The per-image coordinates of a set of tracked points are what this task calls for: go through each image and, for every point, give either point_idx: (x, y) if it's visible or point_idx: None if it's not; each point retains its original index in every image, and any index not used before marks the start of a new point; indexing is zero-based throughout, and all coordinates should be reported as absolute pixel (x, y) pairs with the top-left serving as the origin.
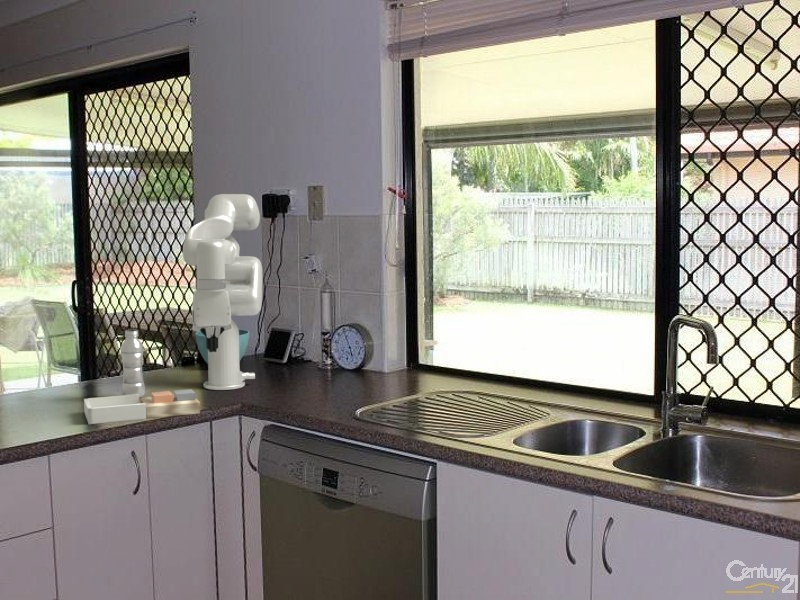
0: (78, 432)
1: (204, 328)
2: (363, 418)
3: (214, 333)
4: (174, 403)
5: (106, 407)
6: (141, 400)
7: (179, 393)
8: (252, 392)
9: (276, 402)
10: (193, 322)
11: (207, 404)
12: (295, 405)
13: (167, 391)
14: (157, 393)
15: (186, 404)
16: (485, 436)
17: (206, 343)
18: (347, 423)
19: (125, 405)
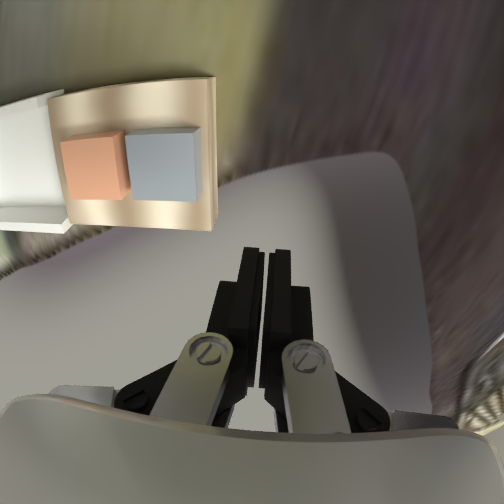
0: (4, 258)
1: (164, 418)
2: (474, 368)
3: (282, 393)
4: (135, 213)
5: (1, 229)
6: (51, 123)
7: (141, 191)
8: (464, 20)
9: (464, 193)
10: (6, 407)
11: (268, 105)
12: (476, 247)
13: (105, 141)
14: (76, 163)
15: (170, 227)
16: (477, 431)
17: (214, 306)
18: (437, 383)
19: (27, 229)
